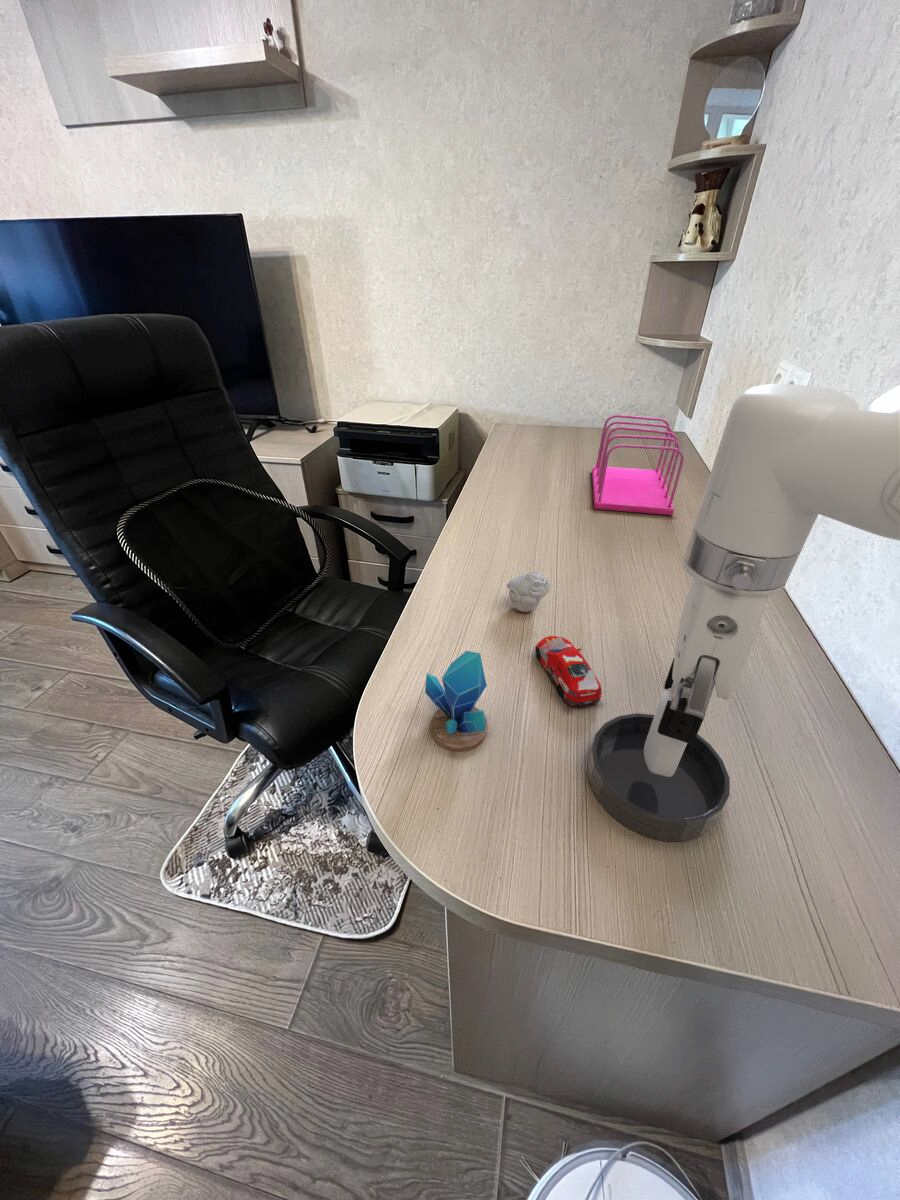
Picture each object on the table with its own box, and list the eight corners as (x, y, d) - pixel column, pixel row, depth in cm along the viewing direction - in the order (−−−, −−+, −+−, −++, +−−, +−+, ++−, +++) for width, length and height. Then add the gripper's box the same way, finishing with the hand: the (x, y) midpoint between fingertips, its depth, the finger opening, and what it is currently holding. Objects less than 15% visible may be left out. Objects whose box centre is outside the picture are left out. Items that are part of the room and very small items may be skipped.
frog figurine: (545, 622, 80) (550, 586, 76) (502, 616, 82) (505, 580, 78) (548, 601, 85) (553, 566, 81) (507, 596, 87) (510, 561, 83)
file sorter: (658, 477, 133) (673, 416, 125) (672, 516, 113) (692, 447, 104) (591, 471, 136) (602, 412, 127) (593, 509, 116) (606, 442, 107)
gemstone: (479, 699, 67) (483, 628, 60) (493, 752, 59) (499, 677, 53) (424, 704, 66) (422, 633, 59) (432, 759, 59) (430, 684, 52)
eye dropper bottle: (691, 754, 54) (727, 672, 47) (665, 784, 51) (700, 701, 44) (654, 730, 57) (683, 649, 50) (627, 758, 53) (654, 675, 47)
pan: (720, 757, 59) (729, 737, 57) (718, 865, 49) (729, 845, 47) (600, 718, 64) (605, 699, 62) (575, 809, 53) (580, 789, 51)
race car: (530, 648, 75) (532, 627, 73) (563, 643, 76) (567, 622, 74) (566, 713, 65) (570, 690, 62) (604, 706, 66) (610, 684, 63)
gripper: (805, 628, 32) (716, 797, 42) (783, 521, 45) (719, 671, 55) (679, 599, 34) (625, 765, 45) (693, 506, 47) (648, 651, 58)
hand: (677, 712), depth 50 cm, fingers closed on eye dropper bottle, 5 cm apart
